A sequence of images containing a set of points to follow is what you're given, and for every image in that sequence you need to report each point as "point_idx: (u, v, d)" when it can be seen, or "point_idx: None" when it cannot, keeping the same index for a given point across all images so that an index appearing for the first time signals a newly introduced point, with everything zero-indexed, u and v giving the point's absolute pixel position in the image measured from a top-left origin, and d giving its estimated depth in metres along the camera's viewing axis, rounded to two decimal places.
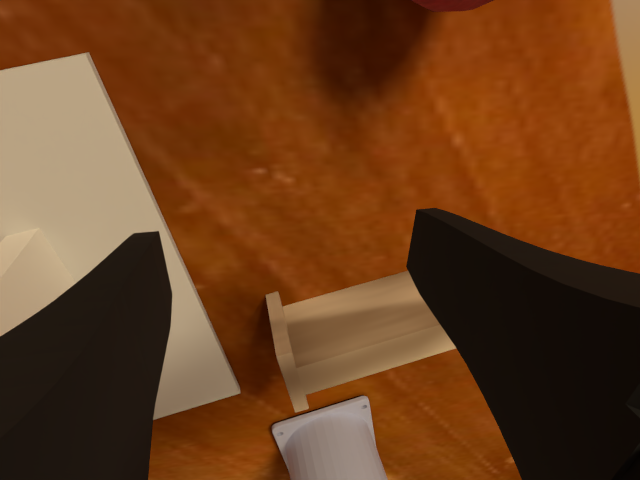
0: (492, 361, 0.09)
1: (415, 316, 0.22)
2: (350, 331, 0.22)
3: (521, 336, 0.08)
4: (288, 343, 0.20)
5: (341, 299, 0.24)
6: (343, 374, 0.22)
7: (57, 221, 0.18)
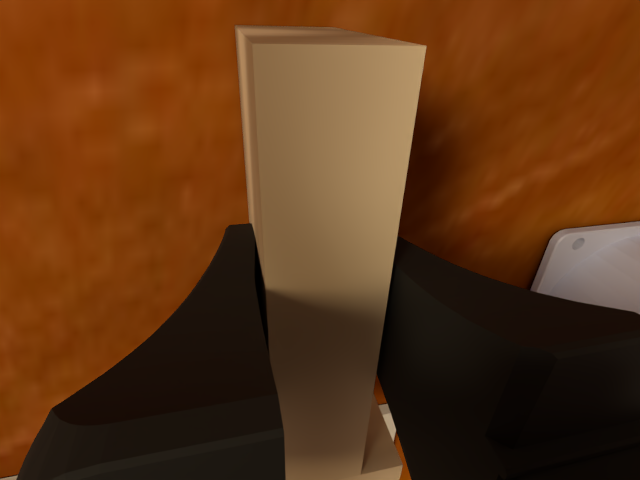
0: (395, 378, 0.08)
1: (259, 248, 0.08)
2: None
3: (412, 354, 0.07)
4: None
5: None
6: (340, 429, 0.10)
7: None
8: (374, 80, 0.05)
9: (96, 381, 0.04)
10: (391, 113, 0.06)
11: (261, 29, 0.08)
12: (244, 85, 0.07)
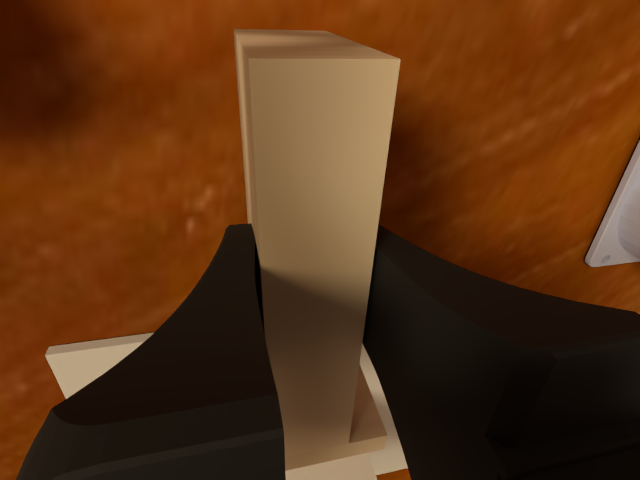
0: (395, 378, 0.08)
1: (255, 235, 0.09)
2: None
3: (412, 354, 0.07)
4: None
5: None
6: (329, 400, 0.11)
7: None
8: (355, 89, 0.06)
9: (96, 381, 0.04)
10: (370, 117, 0.07)
11: (257, 35, 0.09)
12: (242, 88, 0.08)
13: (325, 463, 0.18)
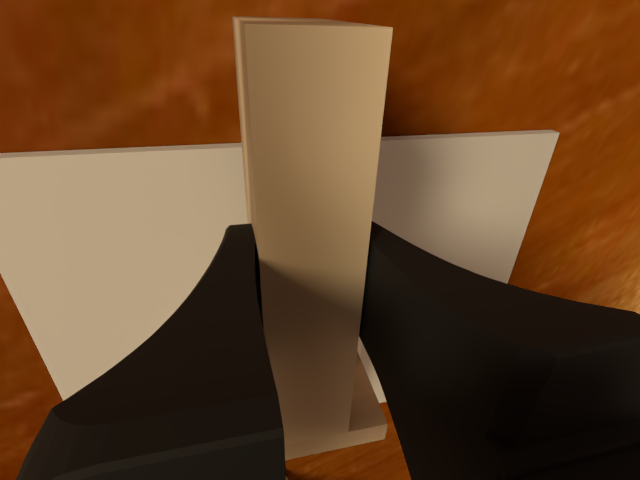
0: (395, 378, 0.08)
1: (253, 212, 0.09)
2: None
3: (413, 354, 0.07)
4: None
5: None
6: (328, 384, 0.11)
7: (187, 258, 0.15)
8: (349, 56, 0.06)
9: (96, 381, 0.04)
10: (364, 86, 0.07)
11: (255, 18, 0.09)
12: (239, 67, 0.08)
13: None
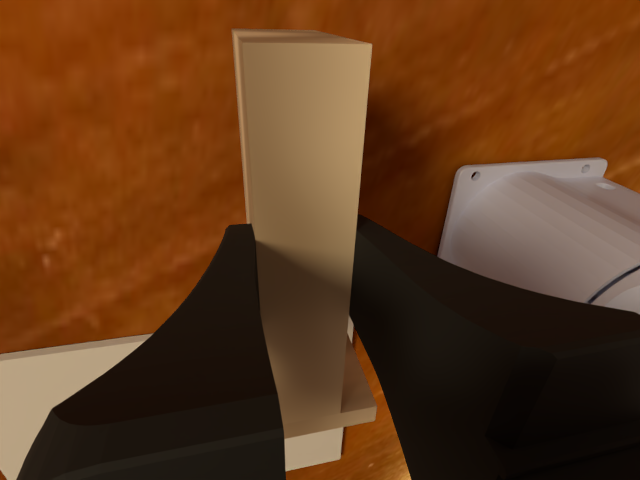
0: (395, 378, 0.08)
1: (251, 208, 0.10)
2: None
3: (412, 354, 0.07)
4: None
5: None
6: (320, 367, 0.11)
7: None
8: (334, 69, 0.07)
9: (96, 381, 0.04)
10: (348, 95, 0.08)
11: (252, 32, 0.10)
12: (238, 76, 0.09)
13: None
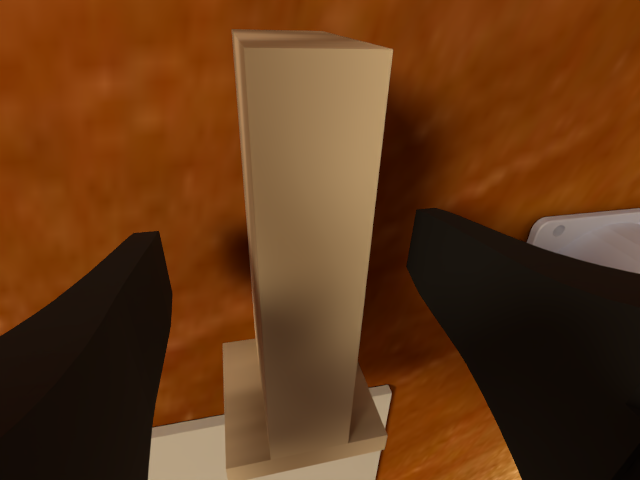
0: (492, 361, 0.09)
1: (252, 228, 0.09)
2: (260, 342, 0.11)
3: (521, 336, 0.08)
4: (226, 449, 0.12)
5: (251, 277, 0.13)
6: (328, 397, 0.11)
7: None
8: (348, 78, 0.06)
9: None
10: (364, 107, 0.07)
11: (254, 33, 0.09)
12: (239, 83, 0.08)
13: None
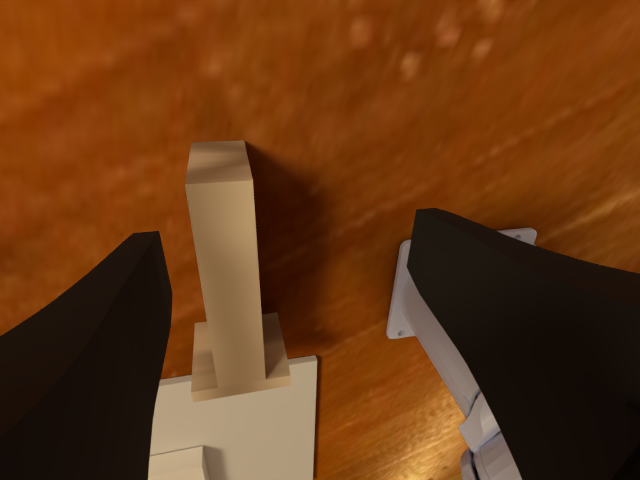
0: (492, 361, 0.09)
1: None
2: None
3: (521, 336, 0.08)
4: (192, 382, 0.20)
5: None
6: (248, 348, 0.19)
7: None
8: (234, 192, 0.14)
9: None
10: (243, 203, 0.15)
11: (200, 153, 0.17)
12: None
13: None
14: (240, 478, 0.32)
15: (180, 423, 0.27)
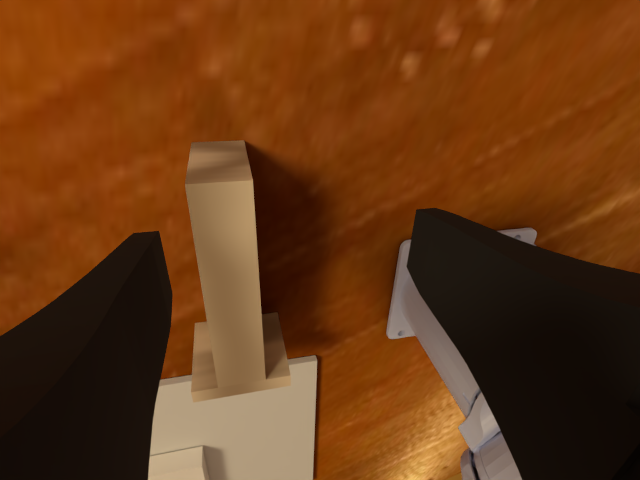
0: (492, 361, 0.09)
1: None
2: None
3: (521, 336, 0.08)
4: (192, 382, 0.20)
5: None
6: (248, 348, 0.19)
7: None
8: (234, 192, 0.14)
9: None
10: (243, 203, 0.15)
11: (200, 153, 0.17)
12: None
13: None
14: (240, 478, 0.32)
15: (180, 423, 0.27)
